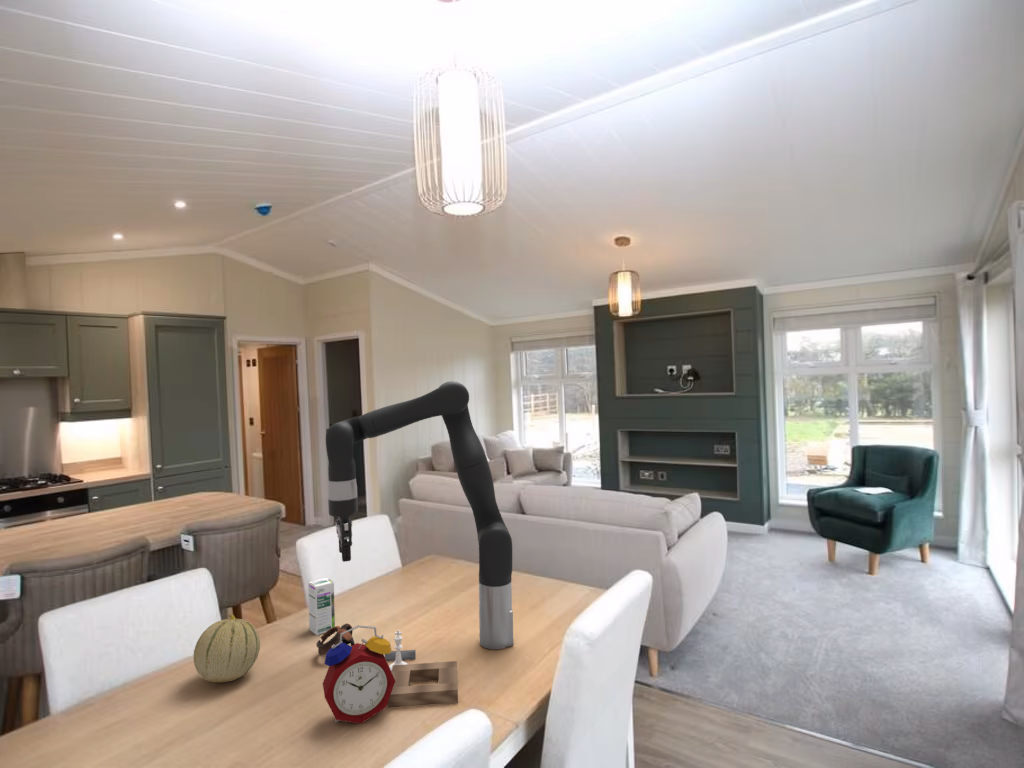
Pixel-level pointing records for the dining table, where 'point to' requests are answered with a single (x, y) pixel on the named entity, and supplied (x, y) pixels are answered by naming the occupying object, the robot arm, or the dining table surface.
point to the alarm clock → (358, 678)
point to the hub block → (424, 693)
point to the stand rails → (404, 655)
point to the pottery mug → (335, 638)
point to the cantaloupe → (226, 650)
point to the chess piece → (398, 650)
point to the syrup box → (321, 605)
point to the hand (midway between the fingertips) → (344, 556)
